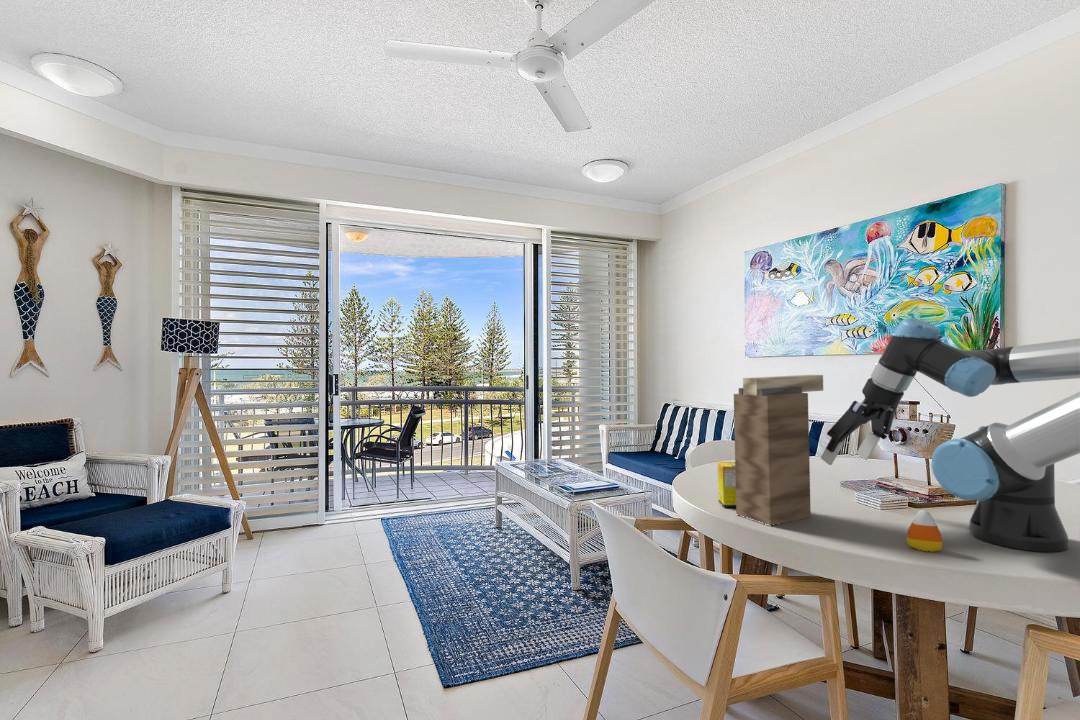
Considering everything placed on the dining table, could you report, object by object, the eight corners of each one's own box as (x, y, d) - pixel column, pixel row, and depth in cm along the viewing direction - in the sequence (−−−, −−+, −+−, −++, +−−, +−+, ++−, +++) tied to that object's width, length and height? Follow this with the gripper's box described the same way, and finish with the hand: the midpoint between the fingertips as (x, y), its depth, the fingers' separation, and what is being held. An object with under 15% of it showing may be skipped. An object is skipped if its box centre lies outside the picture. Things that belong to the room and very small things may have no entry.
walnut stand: (810, 516, 127) (807, 386, 127) (770, 526, 120) (767, 389, 120) (775, 506, 136) (772, 385, 136) (736, 515, 129) (733, 387, 129)
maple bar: (823, 390, 134) (823, 374, 134) (756, 395, 123) (756, 378, 123) (809, 389, 137) (808, 374, 137) (743, 394, 127) (742, 378, 127)
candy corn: (941, 549, 104) (940, 509, 104) (945, 554, 102) (944, 513, 102) (905, 545, 107) (904, 506, 107) (907, 550, 104) (906, 510, 104)
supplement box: (740, 502, 141) (739, 461, 141) (747, 508, 135) (746, 466, 135) (717, 501, 142) (717, 461, 142) (723, 508, 136) (722, 466, 136)
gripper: (904, 375, 127) (862, 445, 136) (837, 377, 116) (797, 453, 125) (934, 391, 121) (889, 463, 130) (867, 395, 110) (823, 474, 119)
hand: (844, 459), depth 128 cm, fingers open, 13 cm apart
